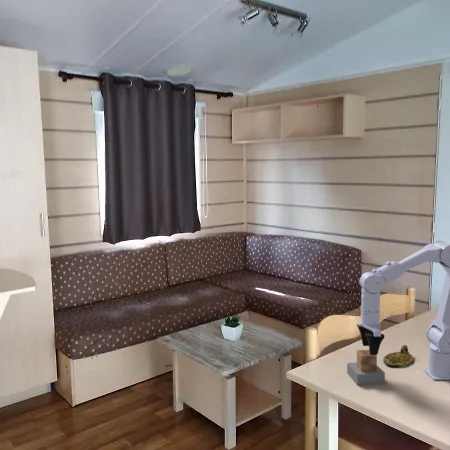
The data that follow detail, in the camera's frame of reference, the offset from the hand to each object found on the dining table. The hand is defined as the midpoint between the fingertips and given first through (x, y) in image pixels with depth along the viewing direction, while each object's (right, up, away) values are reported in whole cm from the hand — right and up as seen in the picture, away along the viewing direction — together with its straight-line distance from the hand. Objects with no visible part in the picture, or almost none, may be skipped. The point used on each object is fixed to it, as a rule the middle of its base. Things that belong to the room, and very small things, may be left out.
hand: (369, 350), depth 154 cm
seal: (+14, -8, +14) cm, 22 cm away
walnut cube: (-1, -6, 0) cm, 6 cm away
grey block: (-1, -10, +1) cm, 10 cm away
